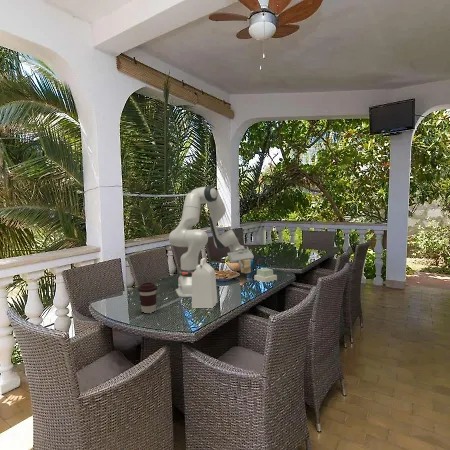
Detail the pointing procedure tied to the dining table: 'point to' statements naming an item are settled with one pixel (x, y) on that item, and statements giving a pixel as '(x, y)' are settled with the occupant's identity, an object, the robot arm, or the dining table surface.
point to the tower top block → (264, 272)
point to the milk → (204, 286)
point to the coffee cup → (147, 297)
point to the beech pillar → (246, 266)
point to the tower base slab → (265, 278)
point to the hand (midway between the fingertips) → (246, 265)
